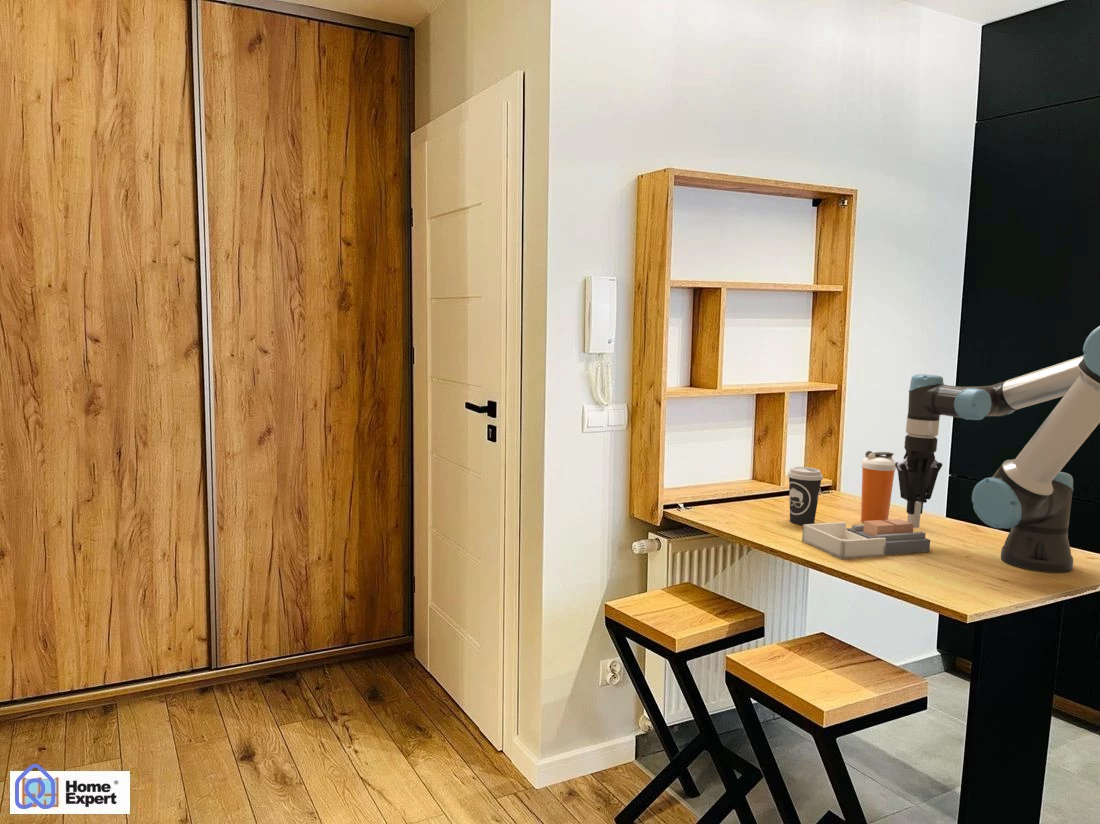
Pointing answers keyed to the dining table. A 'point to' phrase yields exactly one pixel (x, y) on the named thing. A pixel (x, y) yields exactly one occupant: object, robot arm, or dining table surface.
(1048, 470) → the robot arm
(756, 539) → the dining table surface
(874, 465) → the shaker bottle
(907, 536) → the grey railed fixture
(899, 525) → the tile
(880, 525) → the tile
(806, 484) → the coffee cup
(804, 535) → the tray
